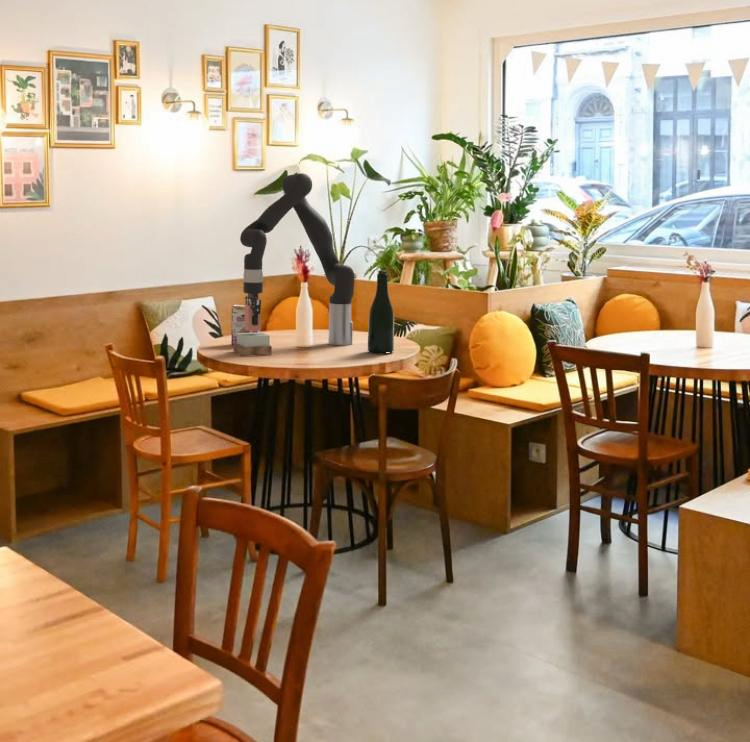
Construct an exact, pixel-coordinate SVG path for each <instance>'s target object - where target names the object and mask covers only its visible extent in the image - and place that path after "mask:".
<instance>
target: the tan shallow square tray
mask: <svg viewBox="0 0 750 742" xmlns="http://www.w3.org/2000/svg"><path fill="white" fill-rule="evenodd" d="M232 346H233V351H235V352H236V353H235V352H234V353H235V354H237V353H238V354H237V355H239V354H240V355H239V356H240V357H254V356H255V355H256V356H257V355H261V356H272V354H273V348H272V347H273V346H272V345H270V346H255V347H244V346H242V345H240V344H237V343H233V345H232ZM250 355H251V356H250ZM252 355H254V356H252ZM256 356H255V357H256ZM257 357H258V356H257Z"/></svg>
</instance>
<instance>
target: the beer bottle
mask: <svg viewBox="0 0 750 742" xmlns="http://www.w3.org/2000/svg"><path fill="white" fill-rule="evenodd" d="M377 272H378V273H377V274H376V291H375V295H374V298H373V301H372V303H371V306H370V309H369V312H368V313H369V315H368V325H367V326H368V328H367V332H368V333H367V352H368V351H369V352H368V353H370V352H372V353H371V354H374V353H386V352H392V351H393V352H394V350H395V349H394V347H395V345H394V344H395V313H394V308H393V307H394V306H393V305H392V302H391V299H390V296H389V287H388V285H389V283H388V282H389V281H388V280H389V274H388V271H387V270H383V269H382V270H378V271H377ZM393 352H392V353H393Z"/></svg>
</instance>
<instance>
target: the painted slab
mask: <svg viewBox="0 0 750 742" xmlns="http://www.w3.org/2000/svg"><path fill="white" fill-rule="evenodd" d="M237 344H240V345H242V346H244V347H255V346H271V345H270V335H269V334H266V333H263V332H261V331H260V332H254V333H237Z"/></svg>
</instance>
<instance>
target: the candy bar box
mask: <svg viewBox="0 0 750 742" xmlns="http://www.w3.org/2000/svg"><path fill="white" fill-rule="evenodd" d="M254 332H261V331H247V330H245V304H233V305H232V306H231V343H230V344H231V346H233V343H237V333H254Z"/></svg>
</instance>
